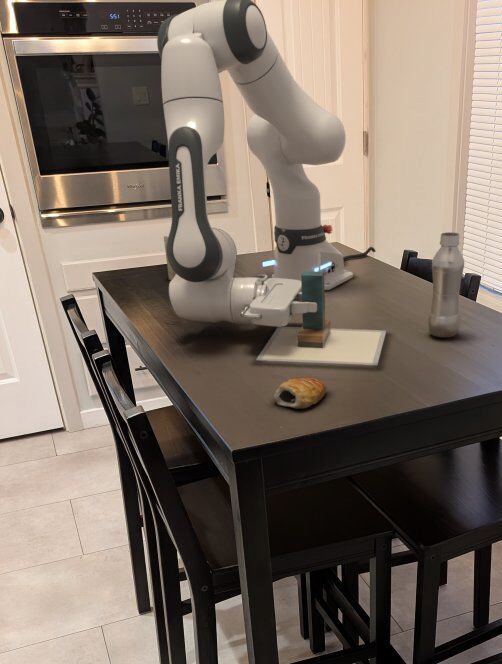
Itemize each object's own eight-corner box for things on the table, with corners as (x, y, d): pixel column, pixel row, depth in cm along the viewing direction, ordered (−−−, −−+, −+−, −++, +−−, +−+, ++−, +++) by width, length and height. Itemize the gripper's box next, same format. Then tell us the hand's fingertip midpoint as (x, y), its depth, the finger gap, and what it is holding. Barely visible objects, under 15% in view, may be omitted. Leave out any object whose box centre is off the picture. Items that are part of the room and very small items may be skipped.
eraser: (297, 346, 141) (295, 279, 135) (306, 330, 150) (304, 266, 143) (322, 347, 141) (321, 280, 134) (330, 331, 149) (329, 267, 142)
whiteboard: (255, 364, 136) (255, 359, 136) (278, 330, 153) (278, 326, 152) (377, 369, 133) (377, 364, 133) (386, 334, 150) (386, 330, 149)
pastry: (304, 386, 127) (304, 365, 125) (336, 394, 123) (336, 373, 121) (270, 404, 120) (269, 382, 118) (303, 413, 117) (302, 392, 115)
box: (183, 281, 188) (178, 236, 182) (168, 280, 189) (162, 235, 183) (191, 275, 192) (186, 232, 186) (176, 275, 193) (170, 231, 187)
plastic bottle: (461, 332, 151) (470, 231, 140) (455, 342, 145) (463, 238, 135) (431, 329, 152) (437, 230, 142) (424, 339, 147) (429, 236, 136)
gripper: (235, 300, 133) (309, 302, 131) (261, 272, 150) (326, 274, 148) (238, 333, 136) (310, 336, 134) (263, 302, 153) (327, 304, 152)
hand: (319, 303), depth 141 cm, fingers closed on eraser, 3 cm apart
